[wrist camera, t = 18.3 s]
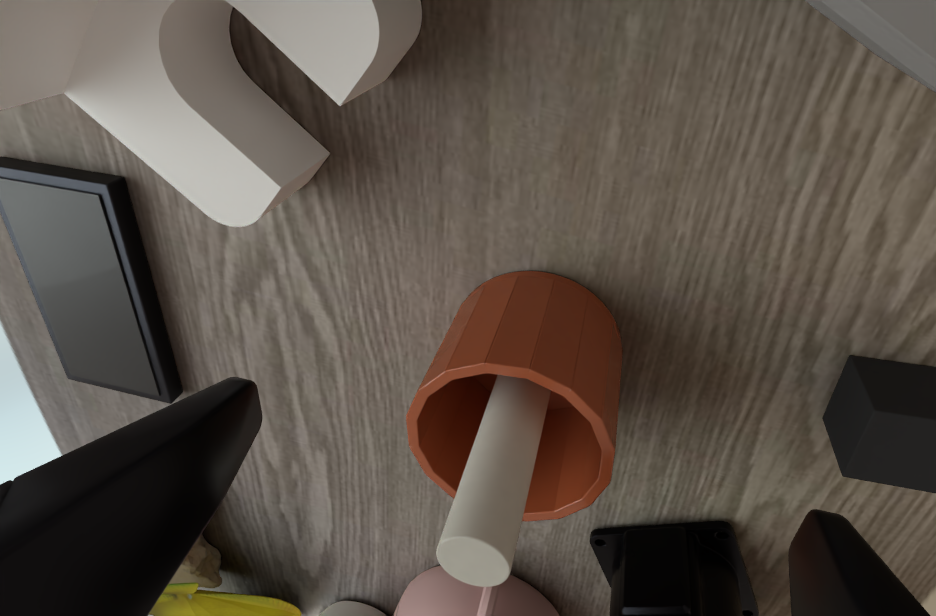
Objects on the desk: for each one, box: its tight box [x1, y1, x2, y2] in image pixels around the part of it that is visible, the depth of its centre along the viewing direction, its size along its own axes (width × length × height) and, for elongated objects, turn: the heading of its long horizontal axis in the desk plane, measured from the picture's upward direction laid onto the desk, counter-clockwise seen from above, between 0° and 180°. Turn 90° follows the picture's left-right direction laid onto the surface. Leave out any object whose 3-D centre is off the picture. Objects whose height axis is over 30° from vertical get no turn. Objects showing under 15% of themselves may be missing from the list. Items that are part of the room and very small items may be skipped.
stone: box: [169, 534, 222, 588], centre depth 38 cm, size 13×4×10 cm
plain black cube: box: [823, 355, 936, 493], centre depth 20 cm, size 3×3×3 cm
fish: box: [149, 583, 302, 616], centre depth 38 cm, size 3×16×10 cm
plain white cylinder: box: [437, 375, 551, 587], centre depth 20 cm, size 2×2×10 cm
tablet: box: [0, 157, 183, 404], centre depth 29 cm, size 12×6×1 cm, turn 177°
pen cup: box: [406, 271, 623, 521], centre depth 22 cm, size 7×7×6 cm
